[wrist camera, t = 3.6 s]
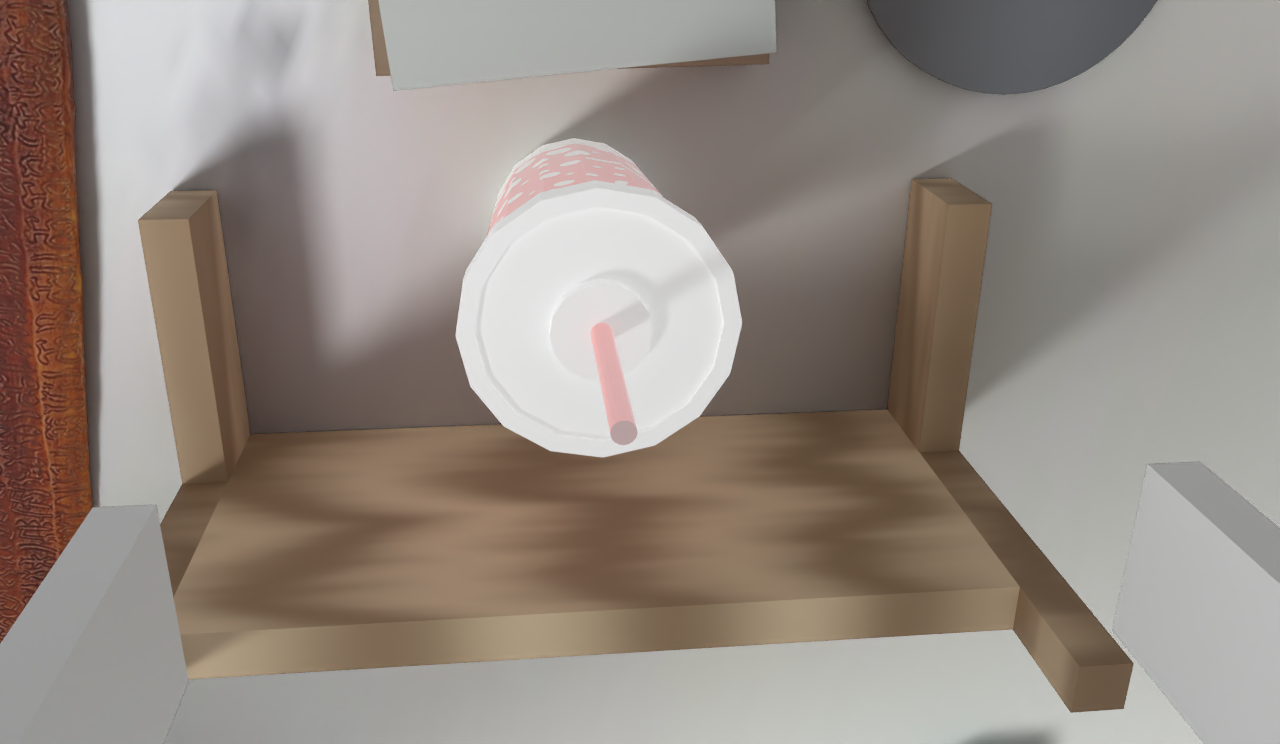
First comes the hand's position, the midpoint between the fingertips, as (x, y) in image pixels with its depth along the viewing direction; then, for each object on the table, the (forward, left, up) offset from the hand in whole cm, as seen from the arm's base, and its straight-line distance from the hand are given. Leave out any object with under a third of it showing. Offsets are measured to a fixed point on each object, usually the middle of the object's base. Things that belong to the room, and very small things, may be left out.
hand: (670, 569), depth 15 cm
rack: (0, -4, -19) cm, 19 cm away
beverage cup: (0, 0, -19) cm, 19 cm away
